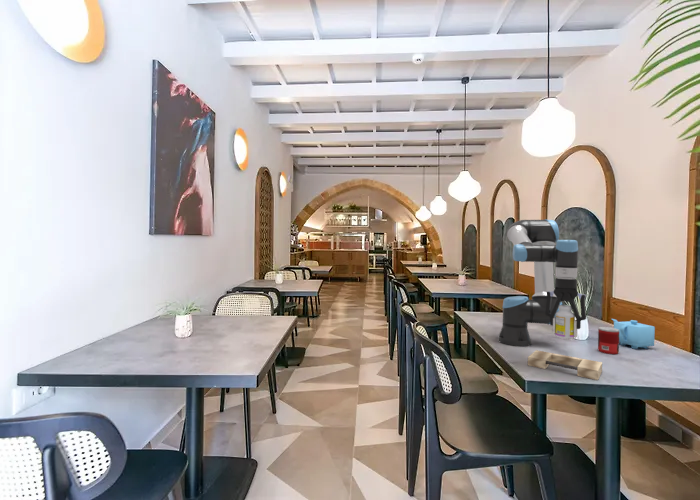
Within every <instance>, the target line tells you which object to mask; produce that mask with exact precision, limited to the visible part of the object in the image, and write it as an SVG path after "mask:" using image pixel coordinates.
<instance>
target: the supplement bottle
mask: <svg viewBox="0 0 700 500" xmlns="http://www.w3.org/2000/svg"><path fill="white" fill-rule="evenodd" d="M572 311H573V309H572V307H571V305H569V304H568V305H566V304H562V305H559V311H558V312H556V331H555V334H554V335H555V337H556V338H558V339H563V340H573V339H574V338H575V337H574V321H575V320H576V317H575V315H574V312H572Z"/></svg>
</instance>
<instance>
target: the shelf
mask: <svg viewBox="0 0 700 500" xmlns="http://www.w3.org/2000/svg"><path fill="white" fill-rule="evenodd" d="M527 366H528V367H534V368H538V369H539V368H540V369H544V370H546V369H547V368H548V367H549V366H555V367H559V368H565V369H570V370H575V371H577V372H576V373H577V377H582V378H585V379H592V380H594V381H595V380H596V381H598V380H599V379H600V377H601V375H602V373H603V361H596V360H592V359H587V358H581V357H575V356H569V355H564V354H560V353H553V352H548V351H543V350H542V351H541V350H537V349H536V350H534V351H533V352H532V353H531V354H530V355H528V356H527Z"/></svg>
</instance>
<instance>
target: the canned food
mask: <svg viewBox="0 0 700 500" xmlns="http://www.w3.org/2000/svg"><path fill="white" fill-rule="evenodd" d="M597 335H598V336H597V350H598V352H599V353H602V354H607V355H618V354H619V352H620V351H619V350H620V345H619V344H620V342H619V330H618V329H615V328H614V327H610V326H609V327H607V326H599V327H598V331H597Z"/></svg>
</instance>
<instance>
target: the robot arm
mask: <svg viewBox="0 0 700 500" xmlns="http://www.w3.org/2000/svg"><path fill="white" fill-rule="evenodd" d="M506 237H507V239H508V241H509V242H511V243H512V245H513V247H512V259H513V261H515V262H521V263H523V262H526V263H533V265H534V266H533V268H534V269H533V271H534V272H533V273H534V294H533V295H532V296H531V299H529V296H524V295H516V296H514V295H513V296H507V297H505V298H504V299H503V301H502V326H501V330H500V332H499V334H498V342H499V341H500V343H501V344H504V345H509V346H513V347H514V346H515V347H528V346H531V345H532V338H531V335H530V332H529V329H528V327H529V326H528V324H541V325H543V324H544V325H550V326H552V335H555V331H556V312H558V311H559V305H563V302H568V303H569V304H570V306H571V307H572V311H573V312H572V313H574V315H575V321H574V338H578V330H580V329H581V328H582V321H585V320H587V311H586V301H585V300H586V297H587V294H584V293H579V291H578V279H577V278H578V258H579V257H578V256H579V243H578V240H575V239H560V229H559V226H558V223H557V222H556V221H555V220H554V219H520V220H518V221H514V222H513V223H511V224H510V225H509V226H508V228H507V230H506ZM554 263H555V277H554ZM554 278H555V279H554ZM577 297H578V299H579V300H580V301H579V304H580V313H579V311H578V307H577V305H576V301H575V298H577ZM580 314H581V315H580Z"/></svg>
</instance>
